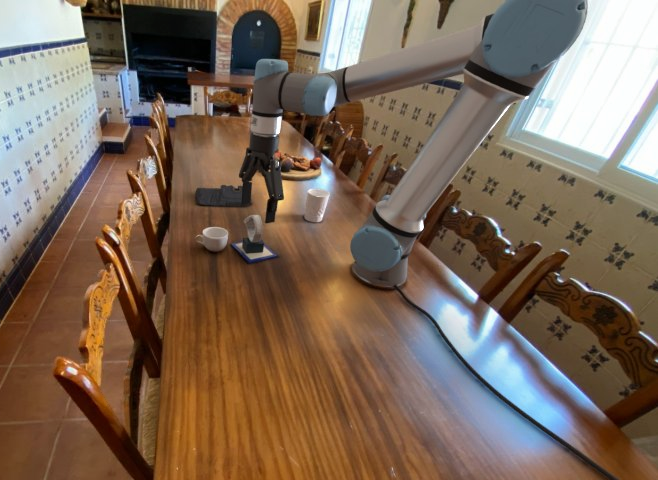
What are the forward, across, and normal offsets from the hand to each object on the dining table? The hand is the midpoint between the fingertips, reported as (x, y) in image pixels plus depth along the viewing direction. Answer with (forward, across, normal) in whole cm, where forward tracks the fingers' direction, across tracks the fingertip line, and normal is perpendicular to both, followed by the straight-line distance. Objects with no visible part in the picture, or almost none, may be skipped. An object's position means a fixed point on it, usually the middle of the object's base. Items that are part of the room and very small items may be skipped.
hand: (257, 213), depth 104 cm
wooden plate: (+12, -64, +58) cm, 87 cm away
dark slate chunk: (+12, -41, +10) cm, 44 cm away
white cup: (+13, -13, +34) cm, 39 cm away
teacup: (+13, -7, -11) cm, 18 cm away
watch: (+12, 0, 0) cm, 12 cm away
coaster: (+13, 0, 0) cm, 13 cm away
